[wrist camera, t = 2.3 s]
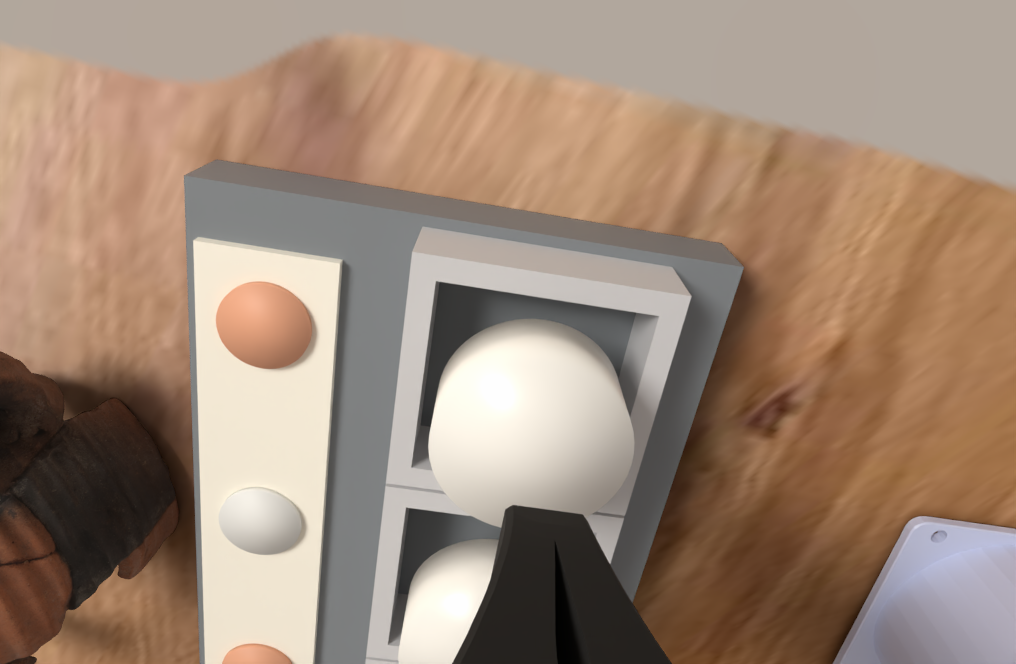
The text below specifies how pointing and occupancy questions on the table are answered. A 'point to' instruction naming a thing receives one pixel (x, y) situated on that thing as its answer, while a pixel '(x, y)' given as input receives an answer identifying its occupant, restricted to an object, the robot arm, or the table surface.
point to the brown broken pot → (70, 505)
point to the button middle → (445, 601)
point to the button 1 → (530, 422)
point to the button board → (397, 388)
